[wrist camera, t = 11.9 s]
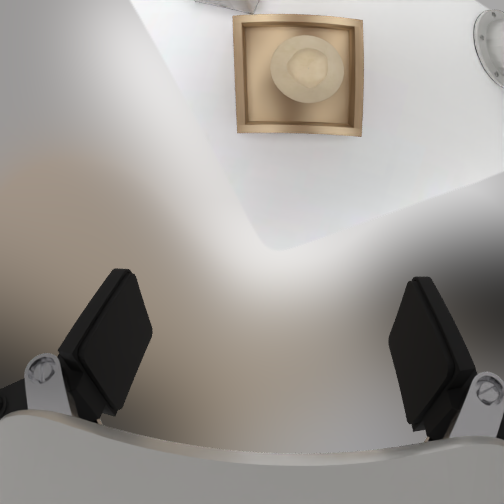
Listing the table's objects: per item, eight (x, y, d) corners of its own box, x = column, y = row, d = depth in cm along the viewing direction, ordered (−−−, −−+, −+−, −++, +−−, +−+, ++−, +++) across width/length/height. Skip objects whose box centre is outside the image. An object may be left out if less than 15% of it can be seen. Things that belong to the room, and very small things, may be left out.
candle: (326, 100, 28) (345, 108, 19) (272, 95, 28) (268, 101, 20) (329, 50, 25) (349, 37, 16) (274, 45, 25) (270, 29, 17)
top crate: (354, 25, 23) (362, 20, 20) (353, 130, 30) (361, 136, 27) (237, 22, 24) (232, 15, 21) (241, 127, 31) (237, 133, 28)
